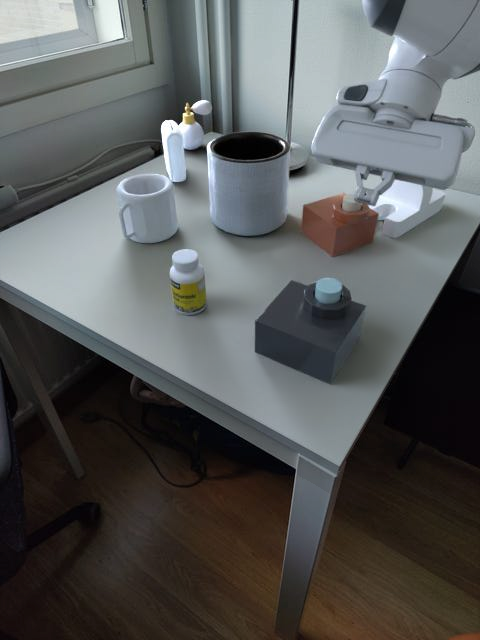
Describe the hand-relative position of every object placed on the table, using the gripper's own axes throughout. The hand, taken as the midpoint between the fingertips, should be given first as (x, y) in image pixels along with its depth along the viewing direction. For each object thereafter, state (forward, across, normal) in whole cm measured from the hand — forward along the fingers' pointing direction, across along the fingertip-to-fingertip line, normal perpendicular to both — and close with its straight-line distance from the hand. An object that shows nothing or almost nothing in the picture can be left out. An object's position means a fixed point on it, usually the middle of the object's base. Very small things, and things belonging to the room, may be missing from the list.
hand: (364, 202), depth 64 cm
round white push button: (-4, +7, -19) cm, 21 cm away
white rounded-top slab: (-5, +55, -30) cm, 63 cm away
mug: (+13, +43, -12) cm, 46 cm away
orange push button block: (0, +10, -25) cm, 27 cm away
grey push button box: (+21, +1, -4) cm, 22 cm away
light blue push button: (+14, 0, 0) cm, 14 cm away
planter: (+2, +28, -23) cm, 37 cm away
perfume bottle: (-17, +62, -42) cm, 77 cm away
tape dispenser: (-10, +2, -36) cm, 37 cm away
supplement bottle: (+23, +22, -3) cm, 31 cm away
